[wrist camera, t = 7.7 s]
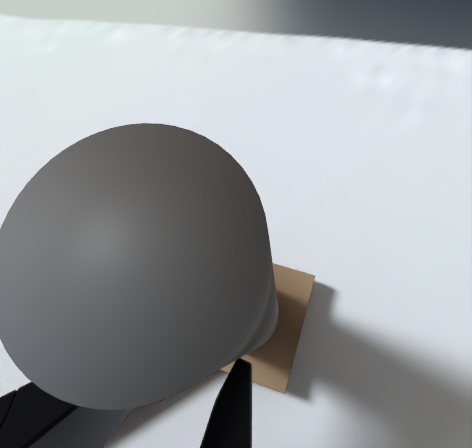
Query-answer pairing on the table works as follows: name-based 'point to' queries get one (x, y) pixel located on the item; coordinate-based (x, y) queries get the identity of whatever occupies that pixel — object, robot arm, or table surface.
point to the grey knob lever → (144, 272)
